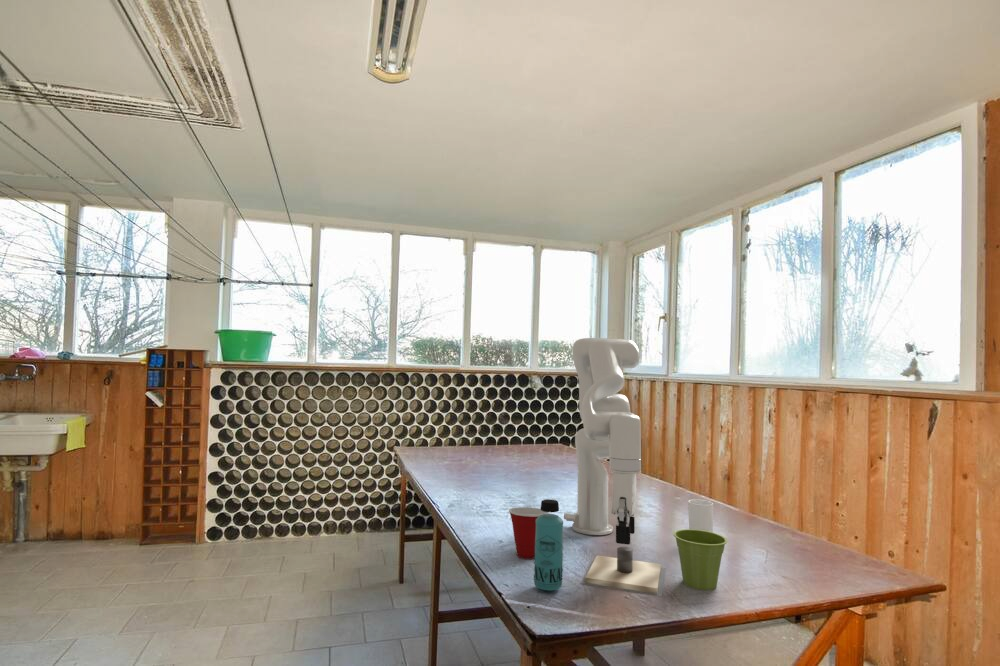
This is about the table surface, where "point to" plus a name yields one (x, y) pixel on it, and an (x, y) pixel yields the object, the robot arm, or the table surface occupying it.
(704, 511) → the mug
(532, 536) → the plastic cup
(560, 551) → the beverage bottle
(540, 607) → the table surface
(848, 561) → the table surface
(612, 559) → the lid
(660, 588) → the mat
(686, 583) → the plant pot
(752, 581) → the table surface
